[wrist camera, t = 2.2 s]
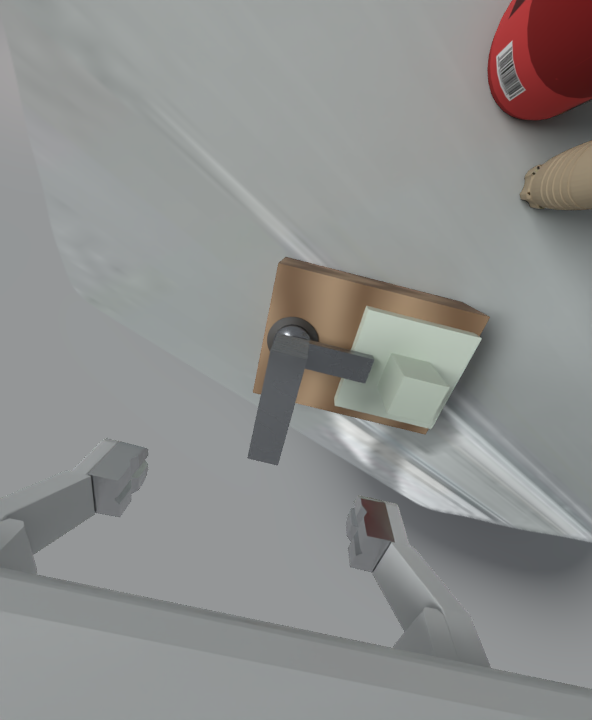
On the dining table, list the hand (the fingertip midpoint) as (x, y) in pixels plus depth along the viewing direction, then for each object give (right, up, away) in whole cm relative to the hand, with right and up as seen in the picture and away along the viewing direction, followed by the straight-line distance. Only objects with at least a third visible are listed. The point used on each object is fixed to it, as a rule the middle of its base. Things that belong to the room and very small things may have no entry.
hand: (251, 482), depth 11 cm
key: (+4, +6, +13) cm, 15 cm away
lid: (+11, +4, +14) cm, 18 cm away
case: (+8, +7, +18) cm, 21 cm away
